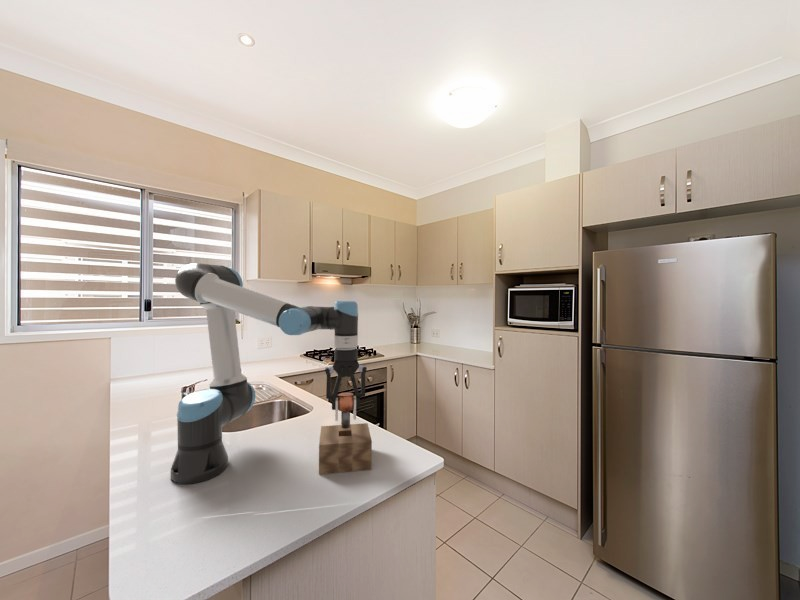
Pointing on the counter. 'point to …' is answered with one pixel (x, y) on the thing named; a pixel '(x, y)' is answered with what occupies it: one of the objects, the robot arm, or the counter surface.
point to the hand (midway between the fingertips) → (345, 418)
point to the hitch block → (345, 449)
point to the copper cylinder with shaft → (345, 408)
